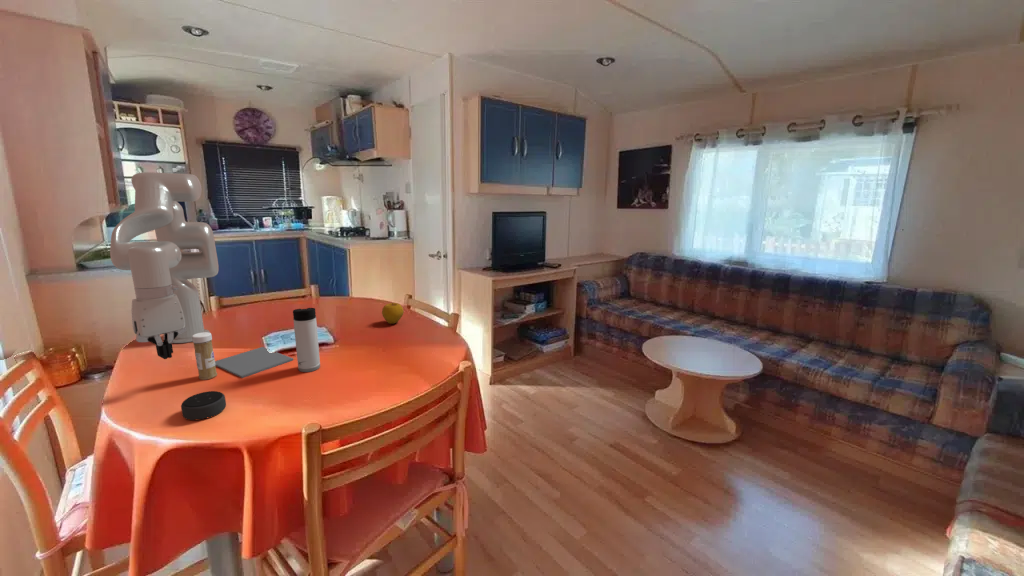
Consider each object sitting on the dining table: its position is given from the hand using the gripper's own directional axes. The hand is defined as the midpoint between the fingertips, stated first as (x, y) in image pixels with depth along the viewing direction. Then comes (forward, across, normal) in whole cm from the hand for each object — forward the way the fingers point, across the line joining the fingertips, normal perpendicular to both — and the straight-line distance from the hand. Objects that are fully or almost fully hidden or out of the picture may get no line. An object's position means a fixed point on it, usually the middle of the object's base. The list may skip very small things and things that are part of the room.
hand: (166, 357), depth 112 cm
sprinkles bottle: (+10, -9, 0) cm, 13 cm away
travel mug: (+10, -29, +19) cm, 36 cm away
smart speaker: (+10, +1, +21) cm, 23 cm away
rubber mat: (+9, -22, 0) cm, 24 cm away
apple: (+10, -76, +7) cm, 77 cm away
